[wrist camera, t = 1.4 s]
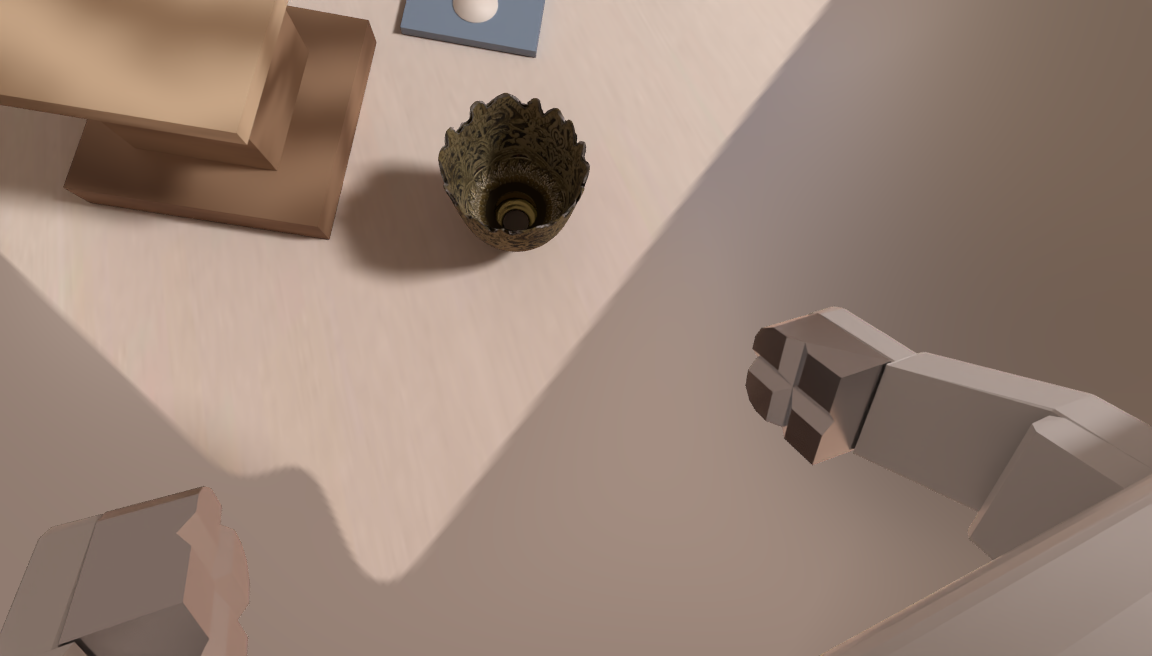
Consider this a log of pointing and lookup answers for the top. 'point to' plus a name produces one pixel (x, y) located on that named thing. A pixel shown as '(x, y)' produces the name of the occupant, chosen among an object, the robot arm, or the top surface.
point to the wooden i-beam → (196, 102)
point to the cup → (514, 170)
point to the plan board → (477, 23)
